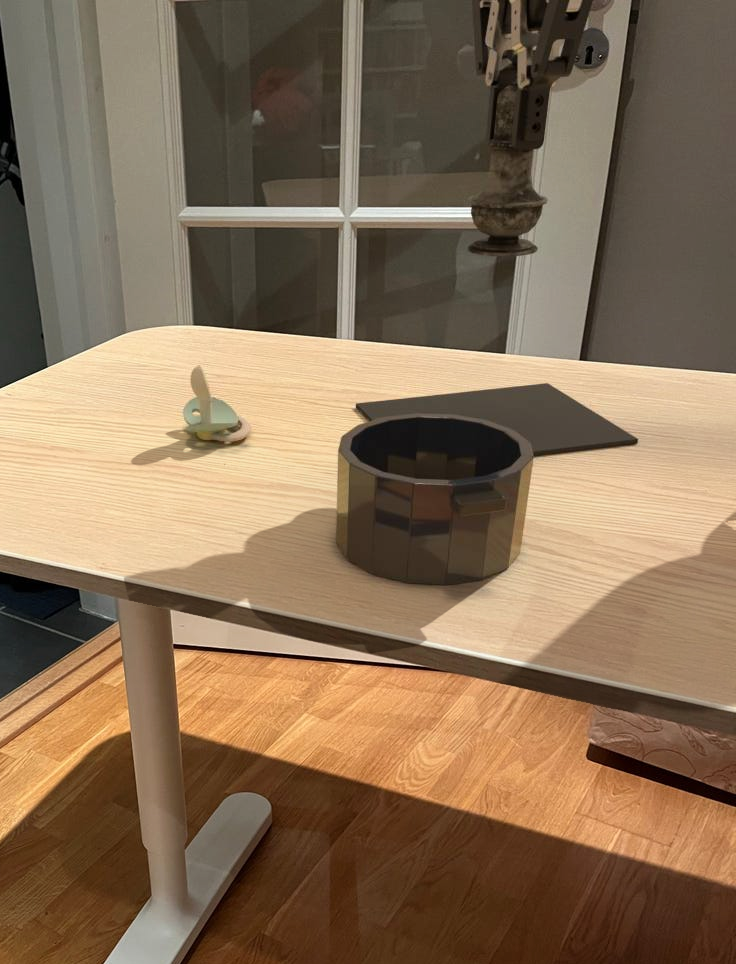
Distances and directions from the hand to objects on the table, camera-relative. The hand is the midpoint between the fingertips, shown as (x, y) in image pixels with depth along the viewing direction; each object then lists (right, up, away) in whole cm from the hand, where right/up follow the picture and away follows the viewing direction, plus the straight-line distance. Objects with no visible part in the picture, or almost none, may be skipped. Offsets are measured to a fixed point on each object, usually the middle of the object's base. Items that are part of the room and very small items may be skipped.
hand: (513, 145), depth 69 cm
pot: (-7, -29, -3) cm, 30 cm away
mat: (+2, -17, +16) cm, 23 cm away
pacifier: (-22, -18, +16) cm, 33 cm away
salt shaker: (0, -6, +4) cm, 7 cm away
